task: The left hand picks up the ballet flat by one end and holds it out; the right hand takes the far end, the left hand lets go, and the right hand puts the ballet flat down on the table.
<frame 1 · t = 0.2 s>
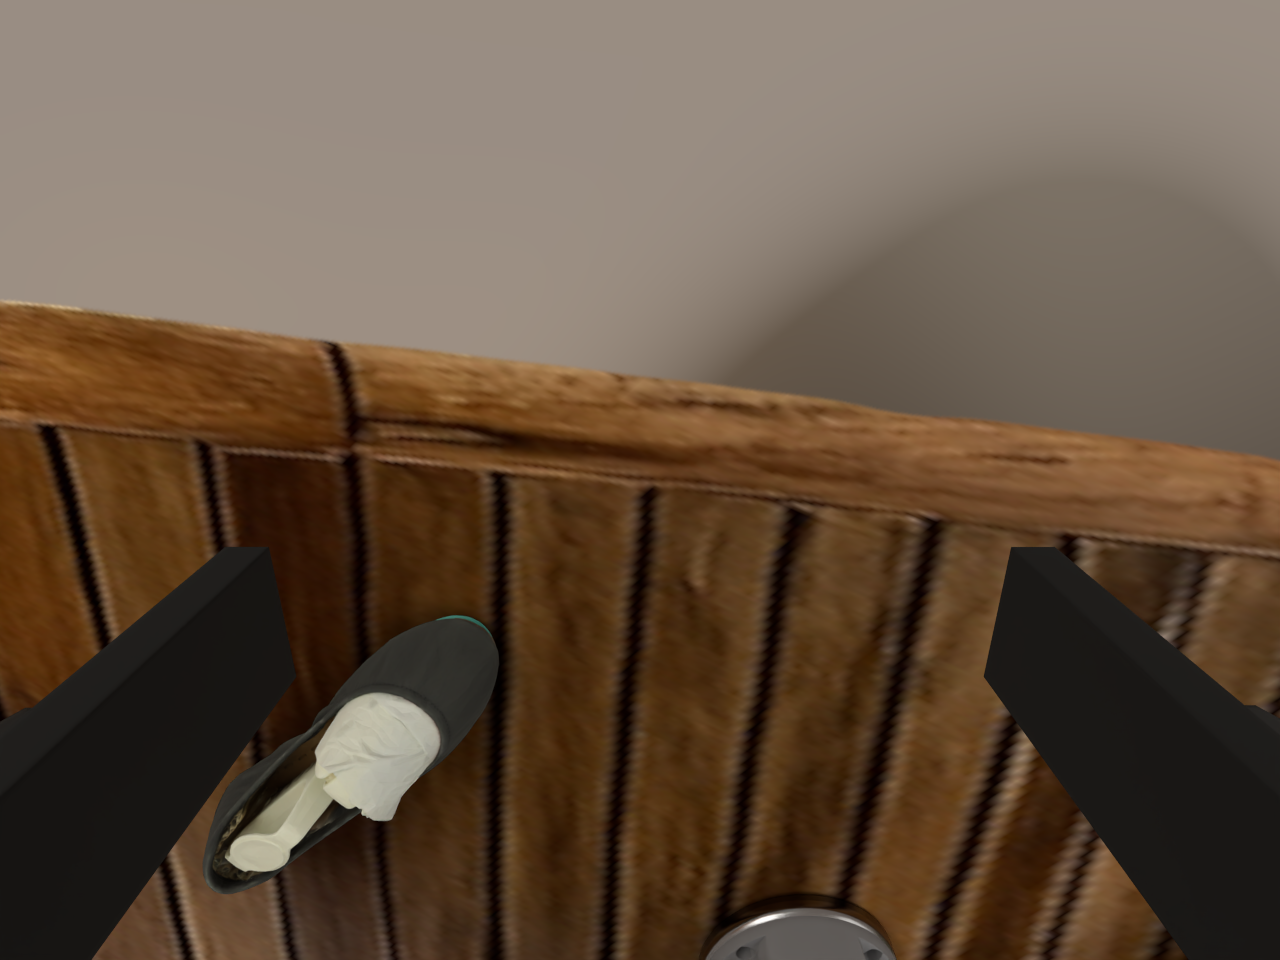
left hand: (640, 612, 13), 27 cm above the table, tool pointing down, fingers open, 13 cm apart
ballet flat: (372, 727, 48), on the table
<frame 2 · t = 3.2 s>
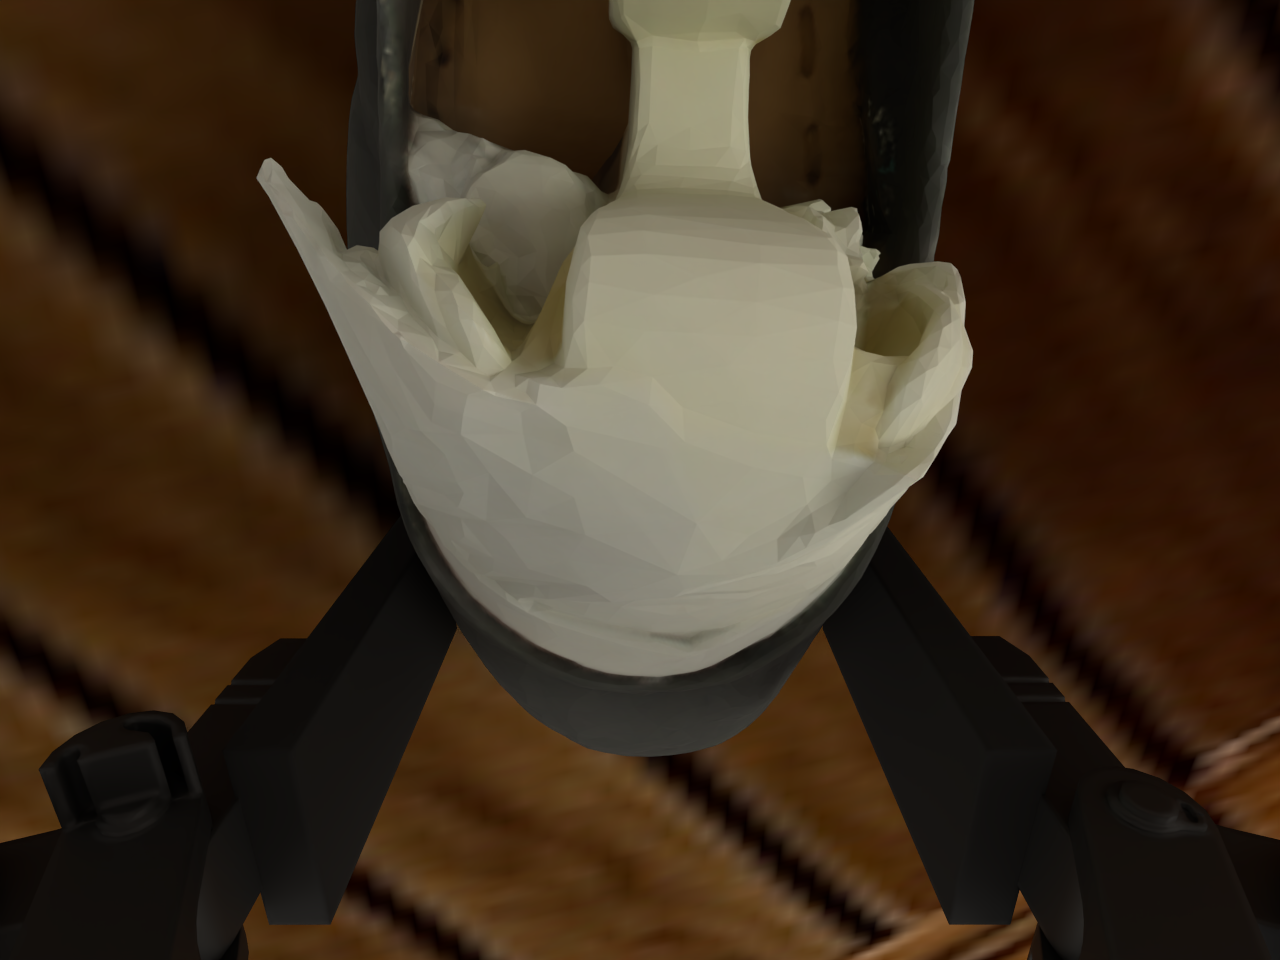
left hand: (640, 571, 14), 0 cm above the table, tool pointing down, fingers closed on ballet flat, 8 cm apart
ballet flat: (631, 102, 12), on the table, touching left hand
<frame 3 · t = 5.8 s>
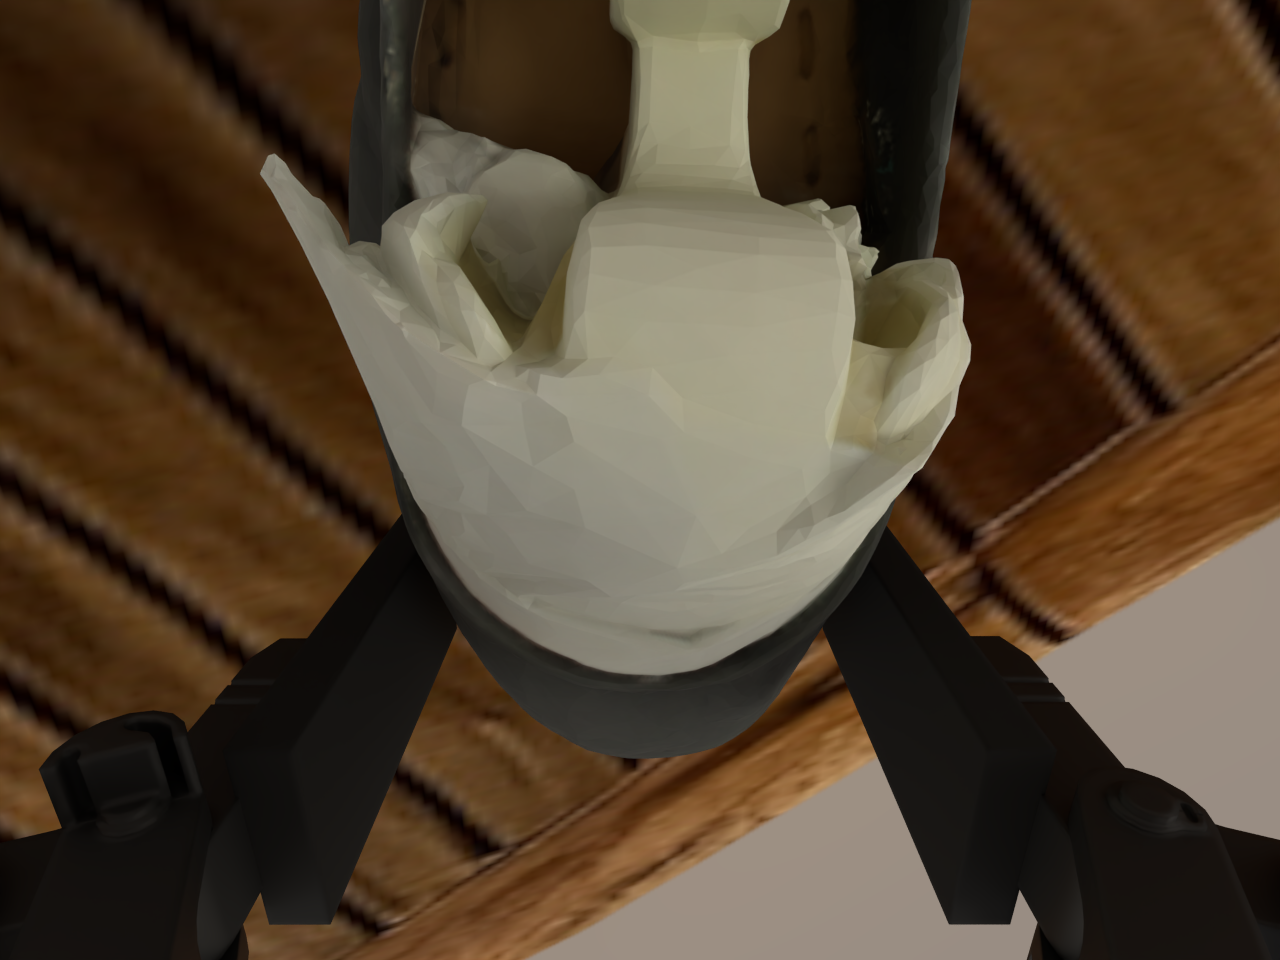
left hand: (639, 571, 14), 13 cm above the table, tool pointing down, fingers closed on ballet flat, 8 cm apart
ballet flat: (632, 105, 12), point 12 cm above the table, touching left hand
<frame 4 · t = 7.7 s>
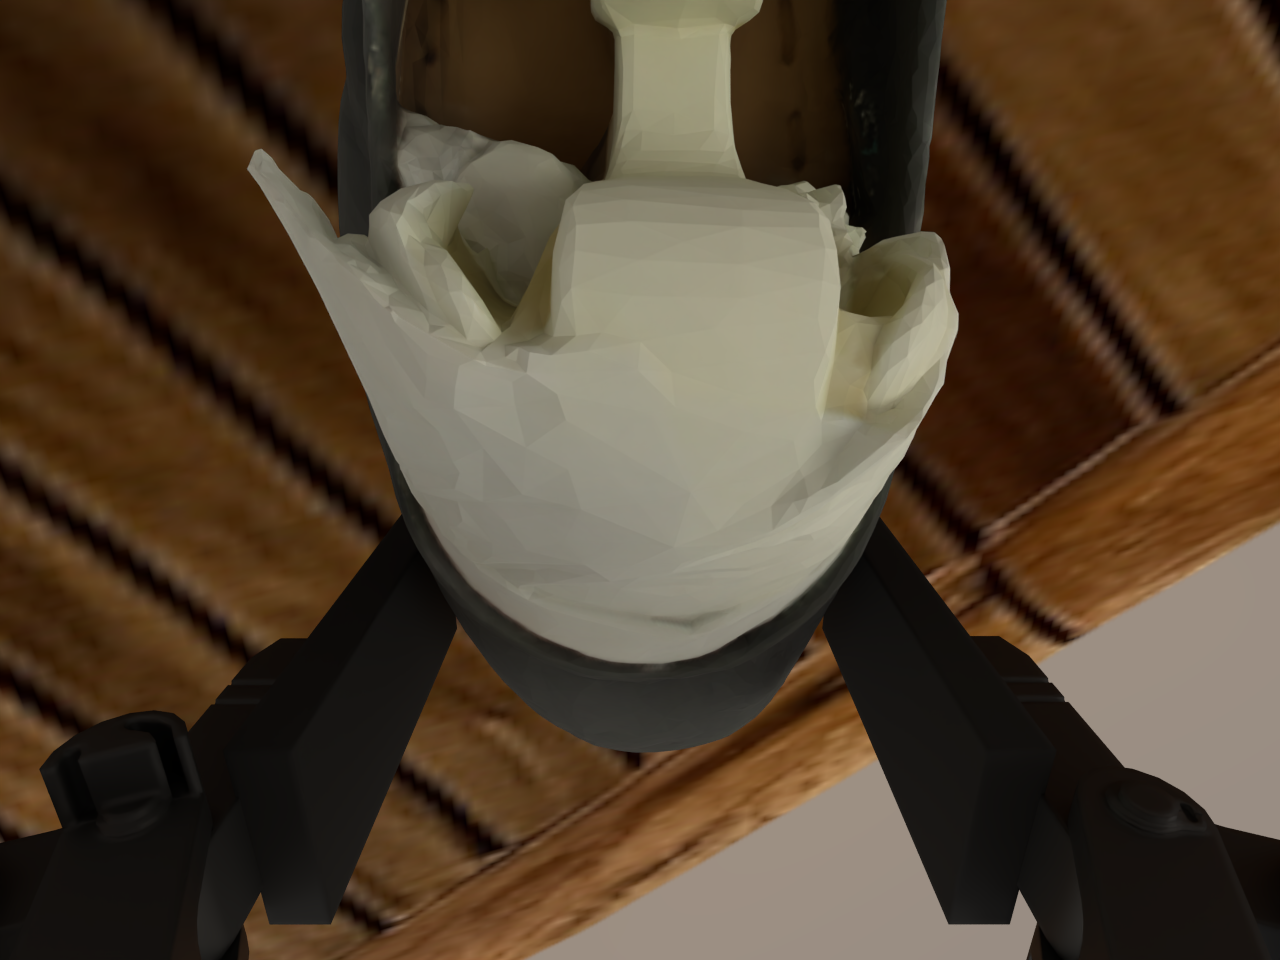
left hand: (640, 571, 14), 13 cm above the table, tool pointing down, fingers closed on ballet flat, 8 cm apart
ballet flat: (617, 99, 12), point 12 cm above the table, touching left hand, right hand
when the left hand's fingers open (13 cm above the table, at t = 8.7 s): ballet flat stays where it is, held by the right hand.
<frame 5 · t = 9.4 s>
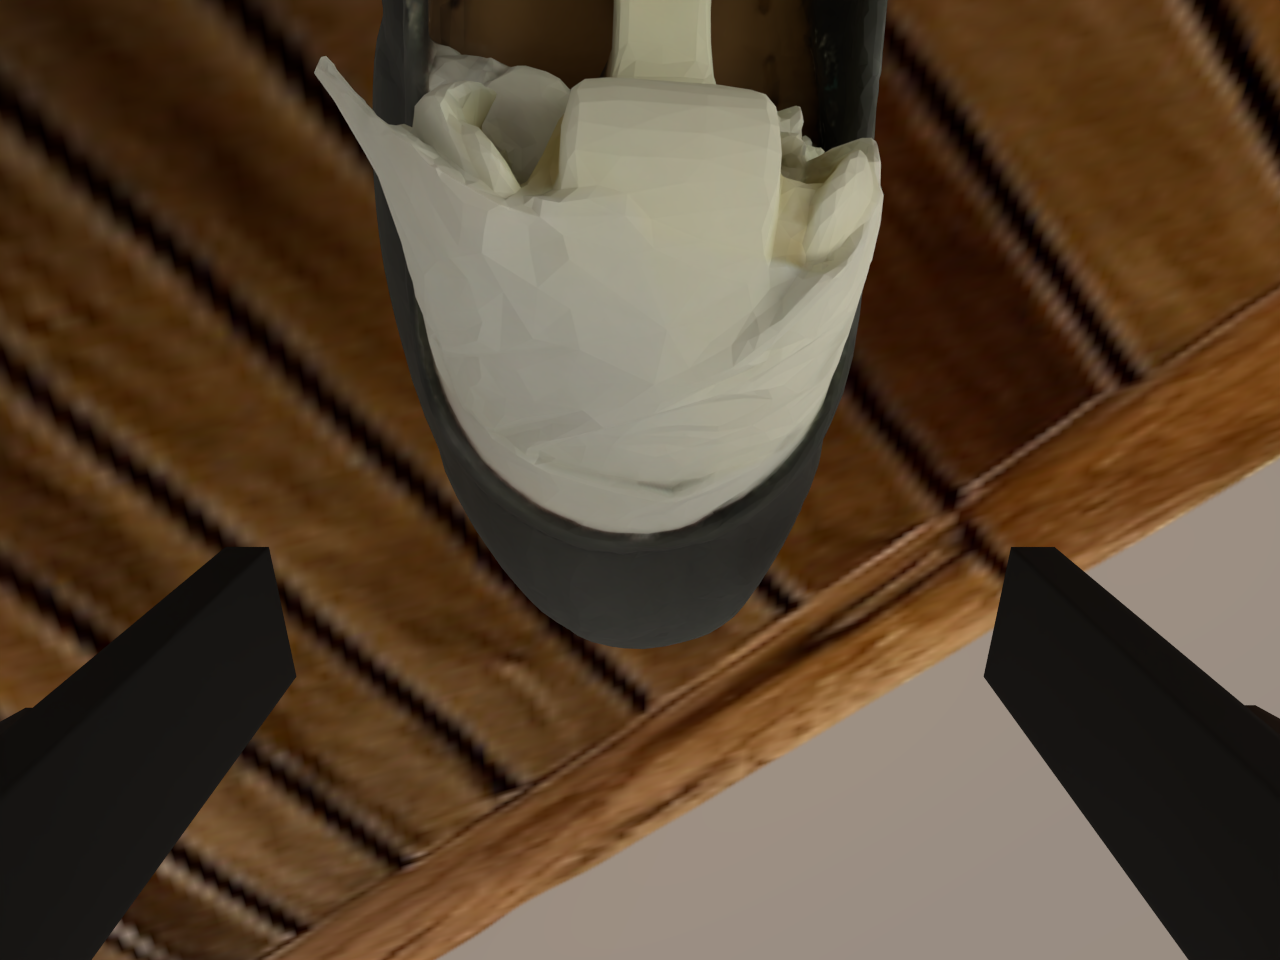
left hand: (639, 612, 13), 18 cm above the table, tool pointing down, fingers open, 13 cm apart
ballet flat: (617, 50, 13), point 14 cm above the table, touching right hand
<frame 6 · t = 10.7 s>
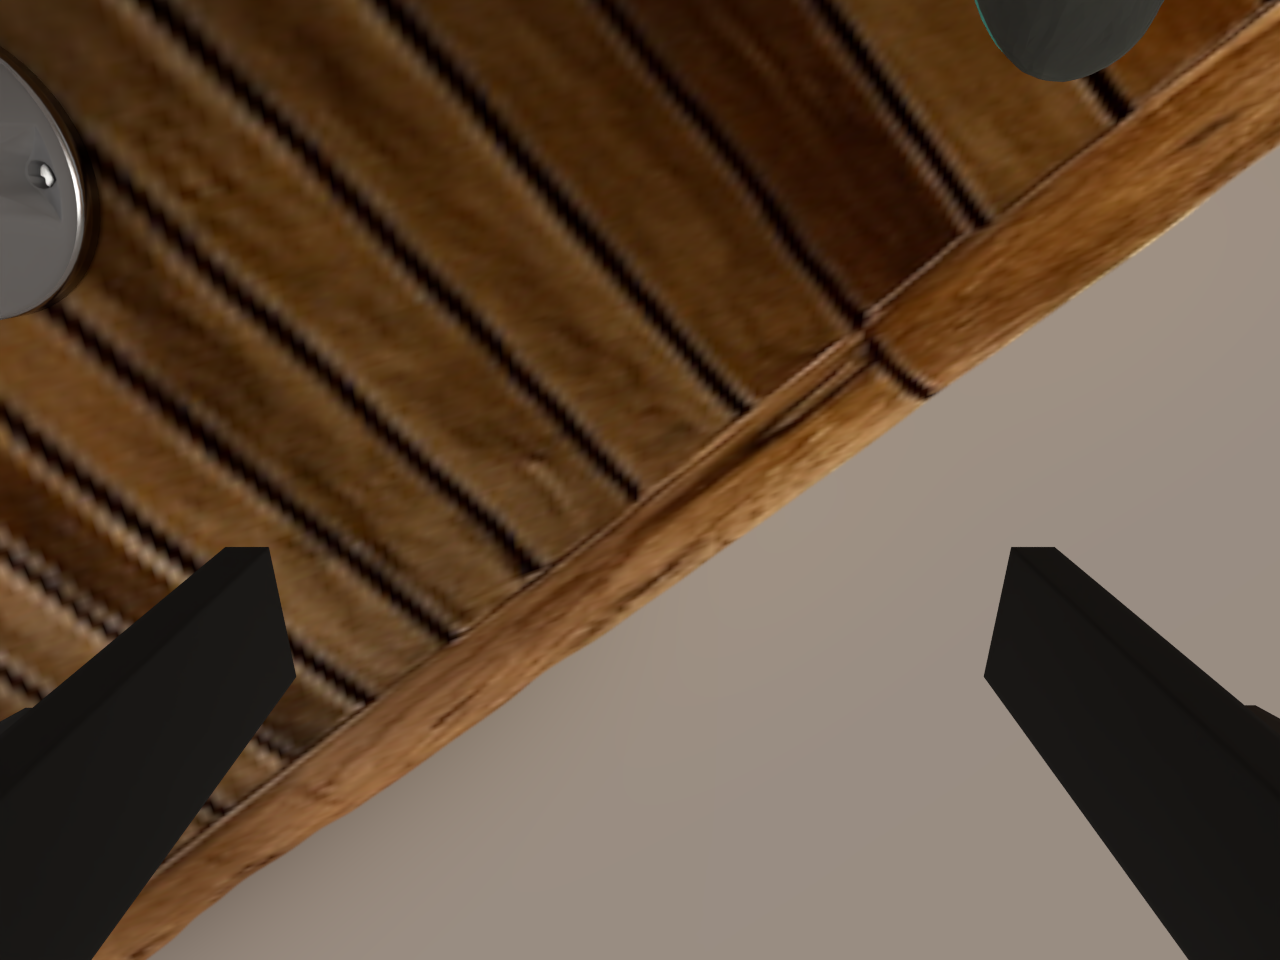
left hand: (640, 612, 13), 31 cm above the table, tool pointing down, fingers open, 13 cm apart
when the right hand's fingers open (4 cm above the table, at t = 13.7 s): ballet flat stays where it is, on the table.
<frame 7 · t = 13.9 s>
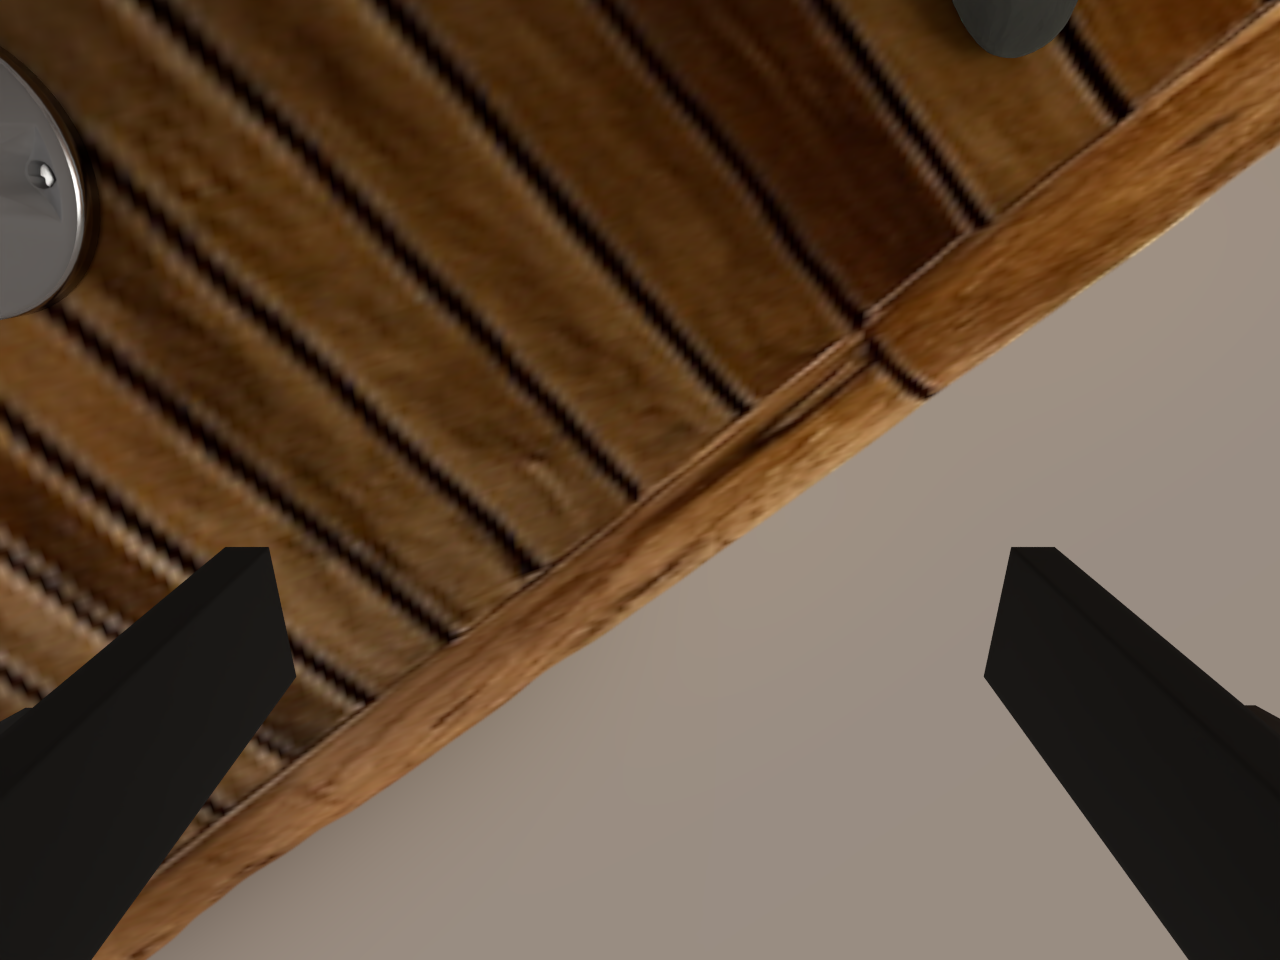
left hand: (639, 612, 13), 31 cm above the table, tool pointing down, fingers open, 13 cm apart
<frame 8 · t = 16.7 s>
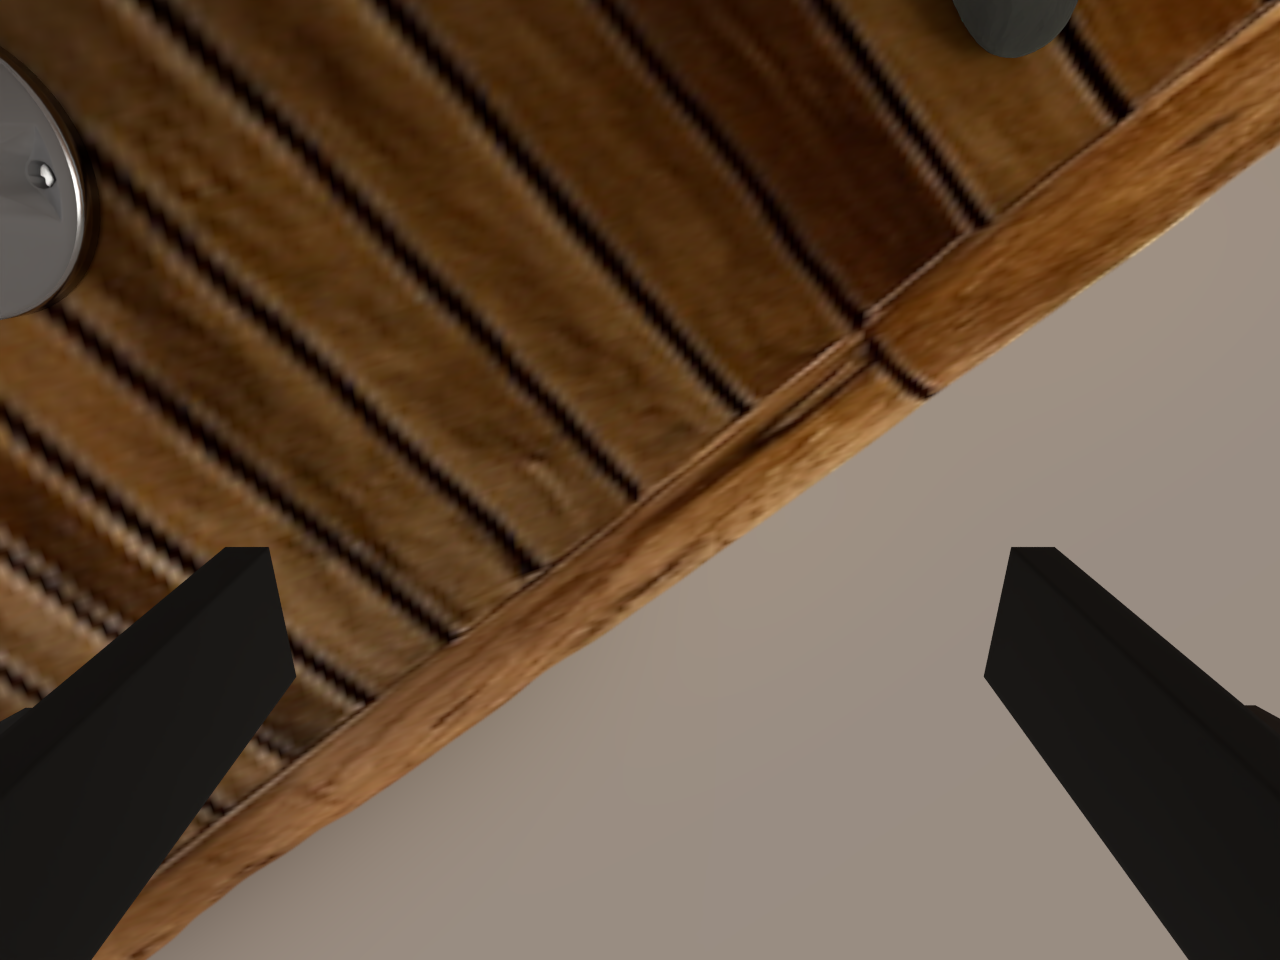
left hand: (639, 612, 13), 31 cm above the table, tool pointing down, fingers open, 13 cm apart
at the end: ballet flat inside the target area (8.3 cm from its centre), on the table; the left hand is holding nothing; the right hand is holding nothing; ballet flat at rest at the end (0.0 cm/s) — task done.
